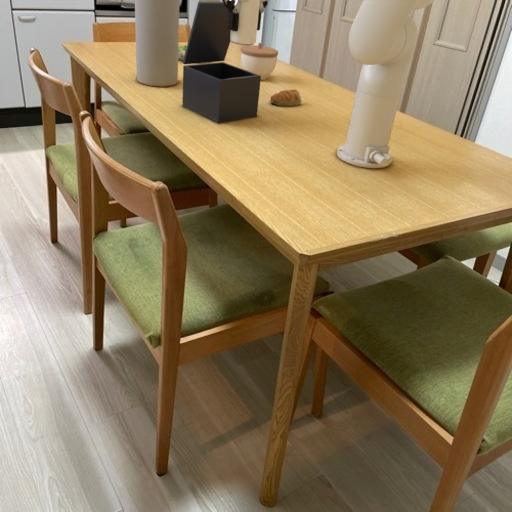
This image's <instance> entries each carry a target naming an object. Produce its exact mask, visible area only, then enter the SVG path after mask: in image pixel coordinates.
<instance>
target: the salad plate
mask: <svg viewBox="0 0 512 512" xmlns="http://www.w3.org/2000/svg"><path fill="white" fill-rule="evenodd" d="M186 48H187V45H178V62H183V59H184V56H185V52H186Z"/></svg>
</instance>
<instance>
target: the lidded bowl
mask: <svg viewBox="0 0 512 512" xmlns="http://www.w3.org/2000/svg"><path fill="white" fill-rule="evenodd" d="M278 55H279V51H278V50H277V49H276V48H273V47H269V46H265V45H263V43H262V42H258V43H257V45H256V44H254V45H241V47H240V58H239V59H240V66H241V67H240V68H241V69H244V70H247V71H249V72H252V73H255V74H258V75H260V76H261V81H265V80H267V79H268V77H270V76H271V75H272V74H273V72H274V71H275V68H276V64H277V62H278V61H277V60H278Z"/></svg>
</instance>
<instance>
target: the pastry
mask: <svg viewBox="0 0 512 512" xmlns="http://www.w3.org/2000/svg"><path fill="white" fill-rule="evenodd" d="M300 93H301V92H299V91H298V90H297V89H284V90H280V91H279V92H276V93H274V94H273V95H271V96H270V100H269V102H270V103H272V104H274V105H277V106H279V107H287V106H288V107H292V106H293V107H294V106H299V105H301V103H302V97H301V95H300Z"/></svg>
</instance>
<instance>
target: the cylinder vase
mask: <svg viewBox="0 0 512 512" xmlns="http://www.w3.org/2000/svg"><path fill="white" fill-rule="evenodd" d="M134 18H135V19H134V23H135V24H134V25H135V64H136V65H135V66H136V80H137V81H138V83H140V84H142V85H145V86H150V87H160V88H161V87H171V86H174V85H176V84H177V83H178V81H179V60H178V47H179V37H180V36H179V35H180V32H179V31H180V0H134Z"/></svg>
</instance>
